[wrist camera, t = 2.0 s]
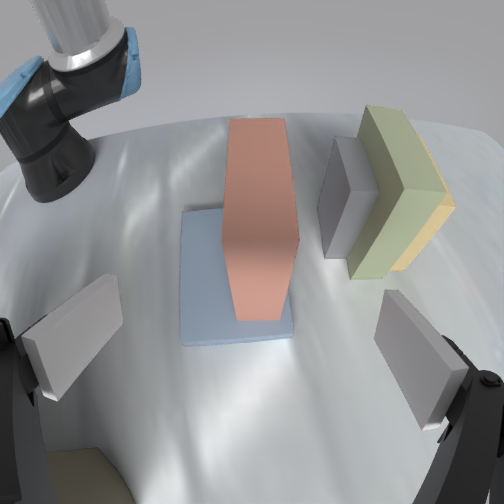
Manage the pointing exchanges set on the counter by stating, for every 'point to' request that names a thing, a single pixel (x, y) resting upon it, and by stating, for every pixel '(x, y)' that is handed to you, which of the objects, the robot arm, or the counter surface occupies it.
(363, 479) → the counter surface
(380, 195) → the row books
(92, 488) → the book
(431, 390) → the robot arm
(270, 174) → the terracotta book
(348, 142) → the stone bookend
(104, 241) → the counter surface
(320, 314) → the counter surface
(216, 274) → the flat book
